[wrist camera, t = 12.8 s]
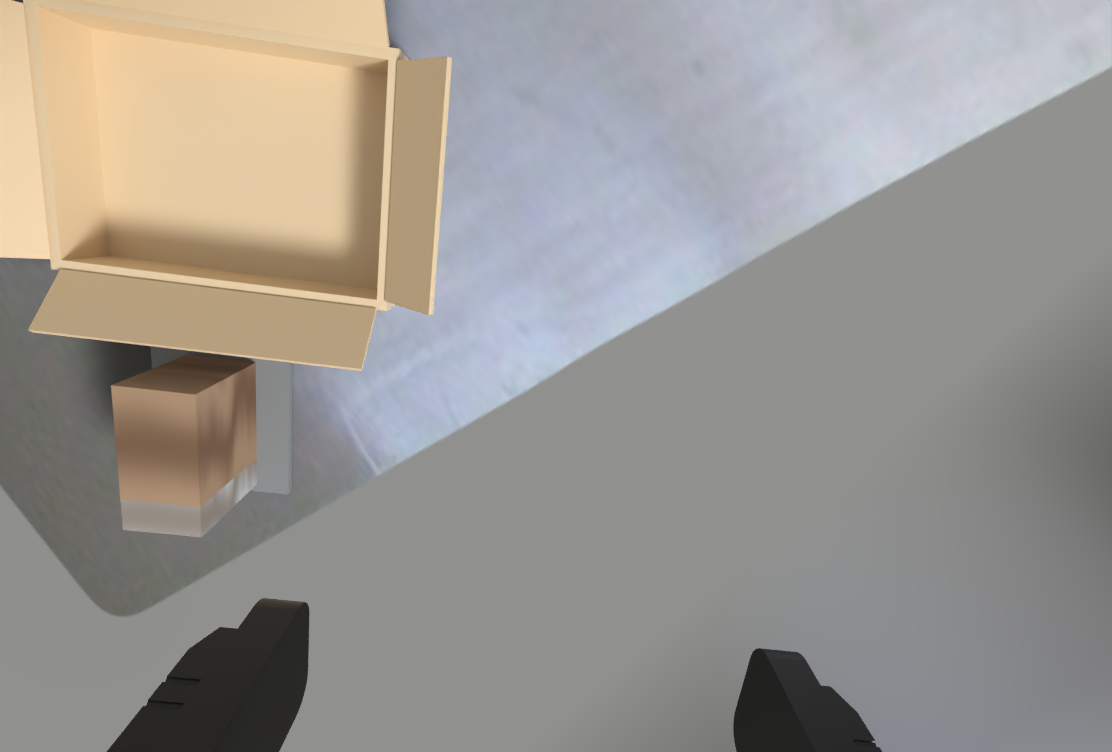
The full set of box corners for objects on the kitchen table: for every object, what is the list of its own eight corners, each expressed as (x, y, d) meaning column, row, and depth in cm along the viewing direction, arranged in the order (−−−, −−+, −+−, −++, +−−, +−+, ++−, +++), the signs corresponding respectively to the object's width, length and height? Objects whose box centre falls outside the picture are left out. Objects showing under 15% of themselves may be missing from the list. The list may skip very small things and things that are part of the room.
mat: (156, 342, 38) (150, 344, 38) (292, 358, 39) (288, 361, 38) (164, 477, 41) (158, 481, 40) (291, 490, 42) (288, 494, 41)
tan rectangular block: (186, 354, 38) (110, 385, 31) (255, 362, 38) (195, 394, 32) (192, 477, 40) (123, 529, 34) (257, 483, 41) (201, 537, 34)
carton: (18, -56, 32) (-113, -124, 26) (473, 16, 34) (458, -30, 27) (56, 305, 37) (-44, 324, 31) (445, 352, 39) (427, 380, 33)
